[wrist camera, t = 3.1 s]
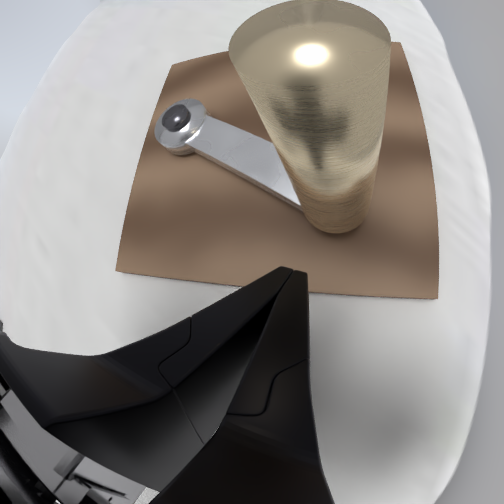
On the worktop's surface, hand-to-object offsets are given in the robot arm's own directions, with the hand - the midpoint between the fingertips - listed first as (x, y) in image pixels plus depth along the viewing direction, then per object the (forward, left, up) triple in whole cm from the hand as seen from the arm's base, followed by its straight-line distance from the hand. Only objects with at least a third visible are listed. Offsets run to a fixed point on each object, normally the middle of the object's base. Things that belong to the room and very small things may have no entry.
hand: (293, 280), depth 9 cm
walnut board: (+10, +4, -8) cm, 13 cm away
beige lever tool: (+8, +4, -6) cm, 11 cm away
